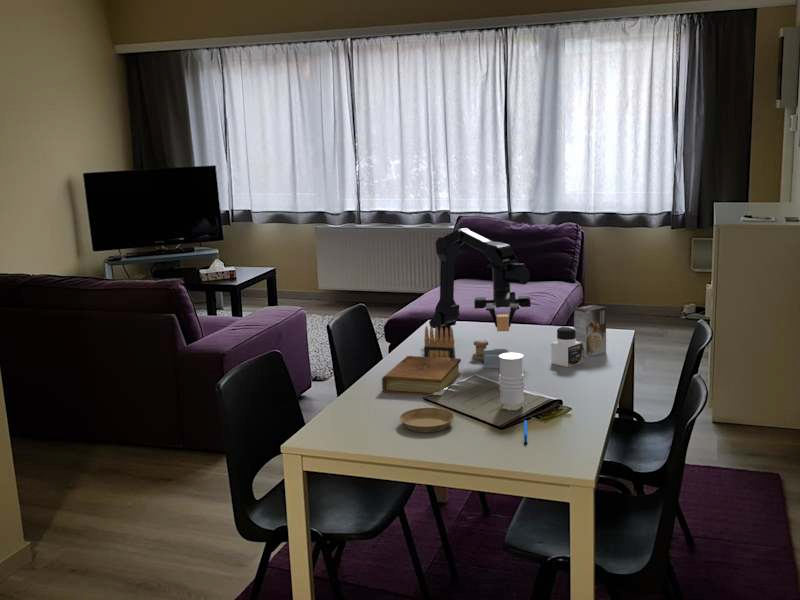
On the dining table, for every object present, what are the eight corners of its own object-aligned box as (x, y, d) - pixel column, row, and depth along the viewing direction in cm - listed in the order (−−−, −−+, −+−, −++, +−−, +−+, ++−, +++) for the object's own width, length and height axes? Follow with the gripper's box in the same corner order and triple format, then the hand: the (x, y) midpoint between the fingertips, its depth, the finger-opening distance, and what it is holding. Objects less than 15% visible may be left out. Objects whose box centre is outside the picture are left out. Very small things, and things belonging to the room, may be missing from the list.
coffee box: (593, 349, 297) (593, 304, 293) (606, 352, 291) (606, 307, 288) (573, 353, 292) (573, 307, 289) (586, 357, 287) (586, 310, 283)
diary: (405, 372, 280) (405, 355, 279) (461, 375, 274) (460, 358, 273) (382, 393, 259) (381, 375, 258) (441, 397, 253) (441, 378, 252)
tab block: (497, 328, 292) (496, 314, 291) (508, 328, 292) (508, 314, 291) (497, 331, 288) (496, 317, 287) (509, 331, 288) (508, 316, 287)
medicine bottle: (568, 367, 276) (568, 331, 274) (551, 363, 281) (550, 328, 279) (581, 362, 281) (582, 327, 278) (564, 359, 286) (564, 324, 283)
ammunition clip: (455, 361, 289) (454, 326, 286) (454, 362, 287) (453, 328, 285) (425, 359, 292) (424, 325, 290) (424, 360, 291) (422, 326, 288)
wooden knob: (472, 355, 295) (472, 340, 294) (490, 355, 294) (489, 339, 293) (472, 360, 289) (471, 344, 288) (490, 359, 288) (489, 344, 287)
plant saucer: (466, 424, 229) (465, 415, 228) (428, 439, 219) (427, 430, 218) (426, 413, 239) (426, 404, 239) (388, 427, 229) (388, 418, 229)
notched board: (484, 360, 288) (483, 349, 287) (508, 360, 287) (507, 348, 287) (484, 367, 279) (483, 356, 279) (508, 367, 279) (508, 355, 278)
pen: (523, 447, 211) (523, 443, 211) (523, 421, 230) (524, 417, 230) (527, 447, 211) (527, 443, 211) (527, 421, 230) (527, 417, 229)
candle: (521, 412, 236) (521, 359, 233) (497, 410, 238) (496, 358, 235) (526, 404, 242) (526, 353, 239) (502, 402, 244) (501, 352, 241)
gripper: (473, 287, 280) (475, 333, 283) (530, 285, 278) (532, 331, 281) (473, 281, 291) (475, 325, 294) (529, 279, 289) (530, 324, 292)
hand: (502, 327), depth 290 cm, fingers closed on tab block, 4 cm apart
